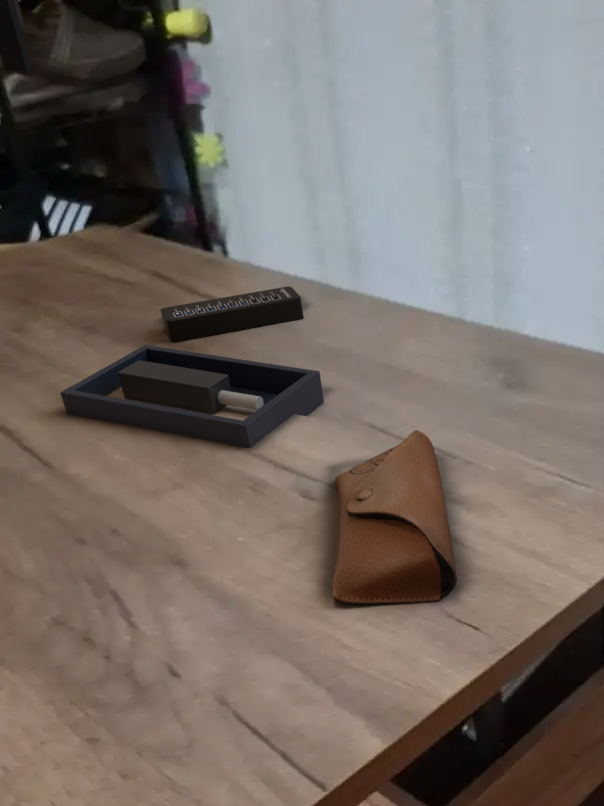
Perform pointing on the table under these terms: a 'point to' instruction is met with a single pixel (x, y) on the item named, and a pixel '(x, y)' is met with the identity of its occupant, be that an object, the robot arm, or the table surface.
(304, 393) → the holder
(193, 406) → the black block with peg
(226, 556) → the table surface
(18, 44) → the robot arm
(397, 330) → the table surface
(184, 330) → the multiport hub
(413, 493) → the sunglasses case
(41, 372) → the table surface
